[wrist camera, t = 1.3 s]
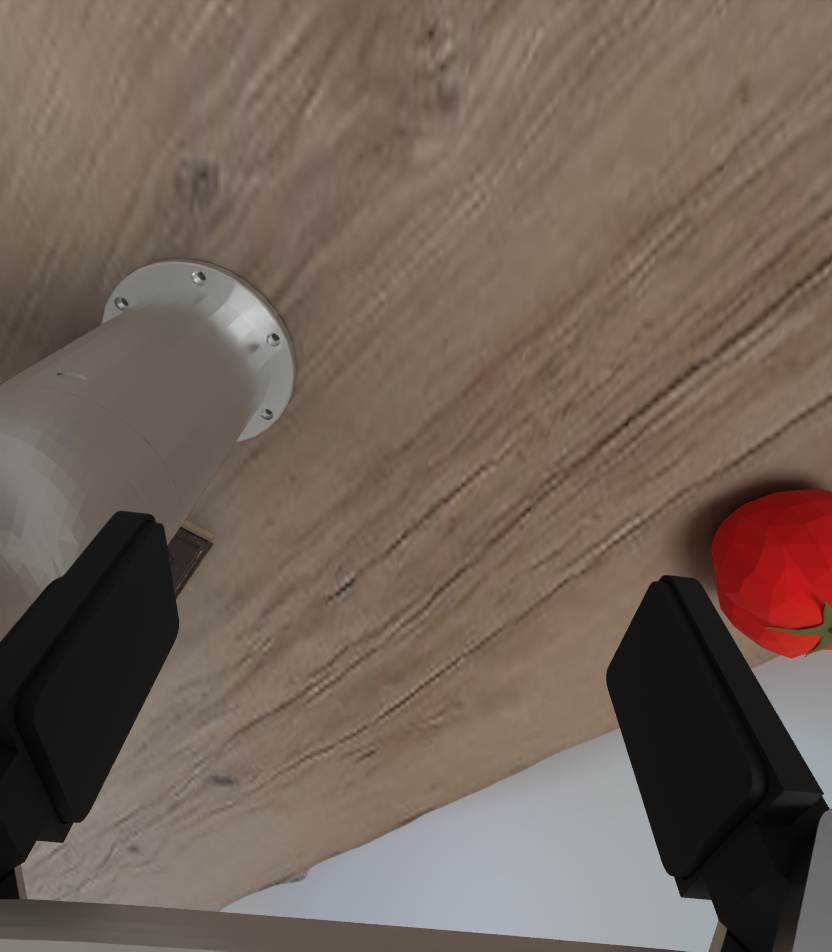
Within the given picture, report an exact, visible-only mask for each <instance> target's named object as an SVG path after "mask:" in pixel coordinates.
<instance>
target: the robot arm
mask: <svg viewBox="0 0 832 952" xmlns="http://www.w3.org/2000/svg"><path fill="white" fill-rule="evenodd" d="M201 272H202V273H203V274H204V275H205V278H206V279H204V278H202V276H201V274H200V273H201ZM125 299H126V300H125ZM126 301H127V302H128V303H127V302H126ZM273 333H275V334H276V335H278V336H279V339H277V338H275V337H274V335H273ZM295 381H296V359H295V354H294V348H293V344H292V341H291V339H290V336H289V334H288V331H287V329H286V327H285V325H284V323H283V322H282V320H281V318H280V316H279V315H278V313H277V311H276V310H275V309H274V308H273V307H272V305H271V304H270V303H269V302H268V301H267V299H266V298H265V297H264V296H263V295H262V294H261V293H260V292H259V291H257V290H256V289H255V288H254V287H253V286H252V285H250V284H249V283H248V282H247V281H245V280H244V279H242V278H240V277H239V276H237V275H235V274H234V273H232V272H230V271H229V270H226V269H224V268H221V267H219V266H216V265H214V264H211V263H208V262H203V261H198V260H193V259H167V260H163V261H158V262H154V263H151V264H149V265H147V266H144V267H142V268H140V269H138V270H136V271H135V272H133V273H131V274H130V275H128V276H127V277H125V278H124V279H123V280H122V281H121V282H120V283H119V284H118V286H117V287H116V288H115V289H114V290H113V291H112V293H111V295H110V297H109V299H108V301H107V303H106V305H105V308H104V313H103V317H102V321H101V325H100V326H98V327H96V328H95V329H93V330H91V331H90V332H88V333H86V334H85V335H83V336H81V337H80V338H78V339H76V340H74V341H73V342H71V343H69V344H68V345H66V346H64V347H63V348H61V349H59V350H58V351H56V352H54V353H52V354H51V355H49V356H47V357H46V358H44V359H42V360H41V361H39V362H37V363H36V364H34V365H32V366H31V367H29V368H27V369H25V370H24V371H22V372H20V373H19V374H17V375H15V376H14V377H12V378H10V379H9V380H7V381H5V382H3V383H2V384H0V952H685V951H675V950H666V949H655V948H644V947H633V946H621V945H610V944H599V943H587V942H576V941H564V940H553V939H542V938H530V937H518V936H508V935H496V934H483V933H472V932H460V931H447V930H436V929H425V928H413V927H400V926H387V925H376V924H364V923H352V922H340V921H328V920H315V919H303V918H290V917H277V916H264V915H252V914H239V913H226V912H213V911H200V910H188V909H175V908H162V907H149V906H134V905H117V904H100V903H83V902H66V901H49V900H32V899H27V895H26V890H25V884H24V879H23V874H22V868H21V864H22V863H23V862H25V860H26V859H27V857H28V855H29V853H30V851H31V850H32V848H33V846H34V844H35V842H36V841H48V842H59V843H63V842H64V840H65V838H66V836H67V834H68V832H69V831H70V829H71V827H72V825H73V823H74V822H75V823H79V822H82V821H83V820H84V819H85V818H86V816H87V815H88V813H89V812H90V810H91V808H92V806H93V804H94V802H95V800H96V798H97V796H98V794H99V792H100V790H101V788H102V786H103V784H104V782H105V780H106V778H107V776H108V774H109V772H110V770H111V768H112V766H113V764H114V762H115V760H116V758H117V756H118V754H119V752H120V750H121V748H122V746H123V744H124V742H125V740H126V738H127V736H128V734H129V732H130V730H131V728H132V726H133V724H134V722H135V720H136V718H137V716H138V714H139V712H140V710H141V708H142V706H143V704H144V702H145V700H146V698H147V696H148V694H149V692H150V690H151V688H152V686H153V684H154V682H155V680H156V678H157V676H158V674H159V672H160V670H161V668H162V666H163V664H164V662H165V660H166V658H167V656H168V654H169V652H170V650H171V648H172V646H173V644H174V642H175V640H176V637H177V634H178V629H179V617H178V611H177V604H176V598H175V592H174V585H173V579H172V572H171V566H170V560H169V553H168V547H167V545H168V544H169V542H170V541H171V539H172V538H173V537H174V535H175V534H176V532H177V531H178V529H179V528H180V526H181V525H182V523H183V522H184V520H185V519H186V517H187V516H188V514H189V513H190V511H191V510H192V508H193V507H194V505H195V504H196V502H197V500H198V499H199V497H200V496H201V494H202V493H203V491H204V490H205V488H206V487H207V485H208V484H209V482H210V481H211V479H212V478H213V476H214V475H215V473H216V471H217V470H218V468H219V467H220V465H221V464H222V462H223V461H224V459H225V458H226V456H227V455H228V453H229V452H230V450H231V449H232V447H233V446H234V444H235V443H236V442H242V441H245V440H248V439H251V438H253V437H256V436H258V435H259V434H261V433H262V432H264V431H266V430H267V429H269V428H270V427H271V426H272V425H273V424H274V423H275V422H276V421H277V420H278V419H279V418H280V416H281V414H282V413H283V411H284V410H285V408H286V406H287V404H288V402H289V400H290V398H291V396H292V394H293V389H294V385H295ZM268 410H271V412H270V411H268ZM606 681H607V687H608V691H609V694H610V697H611V700H612V704H613V707H614V710H615V713H616V716H617V720H618V723H619V726H620V729H621V732H622V736H623V739H624V742H625V745H626V748H627V752H628V755H629V758H630V761H631V765H632V768H633V771H634V774H635V777H636V781H637V784H638V787H639V790H640V793H641V796H642V800H643V803H644V806H645V810H646V813H647V816H648V819H649V822H650V826H651V829H652V832H653V835H654V838H655V842H656V845H657V848H658V851H659V855H660V858H661V861H662V863H663V866H664V868H665V870H666V872H667V873H668V874H669V875H670V876H674V878H675V881H676V884H677V887H678V890H679V893H680V896H681V897H684V898H695V899H706V900H712V902H713V905H714V908H715V911H716V914H717V916H718V919H719V921H718V924H717V927H716V930H715V933H714V936H713V939H712V943H711V946H710V949H709V952H832V809H829V807H828V805H827V804H826V802H825V800H824V799H823V797H822V795H823V794H824V793H823V792H822V790H821V788H820V787H819V785H818V783H817V781H816V780H815V778H814V776H813V775H812V773H811V771H810V769H809V768H808V766H807V764H806V763H805V761H804V759H803V758H802V756H801V754H800V752H799V751H798V749H797V747H796V745H795V744H794V742H793V740H792V739H791V737H790V735H789V733H788V732H787V730H786V728H785V727H784V725H783V723H782V721H781V720H780V718H779V716H778V715H777V713H776V711H775V710H774V708H773V706H772V704H771V703H770V701H769V699H768V698H767V696H766V694H765V693H764V691H763V689H762V687H761V686H760V684H759V682H758V681H757V679H756V677H755V675H754V674H753V672H752V670H751V669H750V667H749V665H748V663H747V662H746V660H745V658H744V657H743V655H742V653H741V652H740V650H739V648H738V646H737V645H736V643H735V641H734V640H733V638H732V636H731V634H730V633H729V631H728V629H727V628H726V626H725V624H724V622H723V621H722V619H721V617H720V616H719V614H718V612H717V611H716V609H715V607H714V605H713V604H712V602H711V600H710V599H709V597H708V595H707V593H706V592H705V590H704V588H703V587H702V585H701V584H700V582H699V581H698V580H696V579H694V578H687V577H678V576H670V575H664V576H662V577H661V578H660V579H659V581H658V582H657V581H655V582H652V583H651V584H650V586H649V588H648V590H647V592H646V594H645V596H644V598H643V600H642V602H641V604H640V606H639V608H638V610H637V611H636V613H635V615H634V617H633V619H632V621H631V623H630V625H629V627H628V629H627V631H626V633H625V635H624V637H623V639H622V641H621V643H620V645H619V647H618V649H617V651H616V653H615V655H614V657H613V659H612V661H611V663H610V665H609V667H608V669H607V674H606Z"/></svg>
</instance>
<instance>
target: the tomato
mask: <svg viewBox="0 0 832 952" xmlns="http://www.w3.org/2000/svg"><path fill="white" fill-rule="evenodd" d="M711 552H712V559H713V566H714V576H715V585H716V589H717V594H718V598H719V603H720V607H721V610H722V611H723V612H724V614H725V615H726V616H727V618H728V619H729V620H730V622H731V623H732V624H733V626H734V627H736V628H737V629H738V630H739V631H741V632H742V633H743V634H744V635H746V636H747V637H749V638H750V639H751V640H753V641H754V642H755V643H757V644H758V645H760V646H761V647H762V648H765V649H767V650H770V651H772V652H774V653H777V654H780V655H783V656H786V657H789V658H794V657H797V656H800V655H804V654H806V656H807V655H808V654H810V653H813V652H816V651H819V650H822V649H828V650H829V649H831V650H832V492H829V491H825V490H820V489H810V490H796V491H785V492H775V493H772V494H769V495H767V496H764V497H762V498H759V499H756V500H754V501H751V502H748V503H746V504H743V505H741V506H740V507H739V508H738V509H737V510H735V511H734V512H733V513H732V514H731V515H730V516H728V517H727V518H726V519H725V520H724V521H723V522H722V523H721V525H720V526H719V528H718V530H717V532H716V533H715V535H714V539H713V542H712V546H711ZM806 656H805V657H806Z"/></svg>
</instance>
